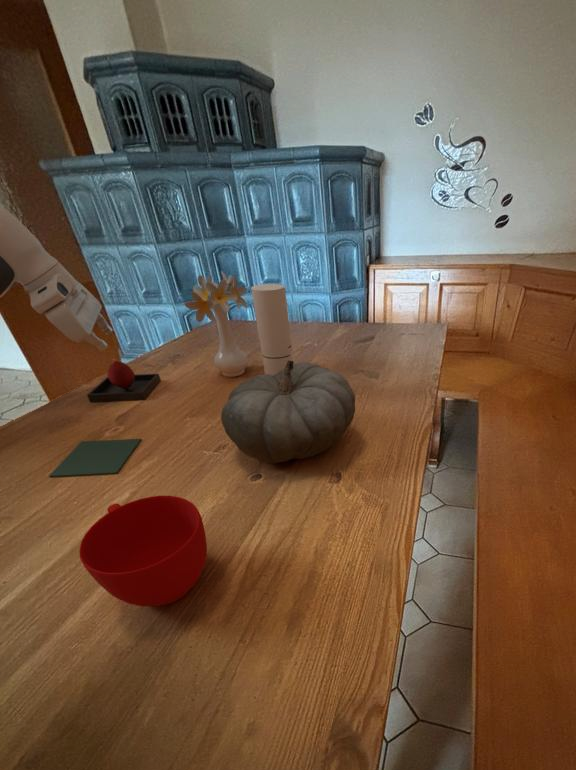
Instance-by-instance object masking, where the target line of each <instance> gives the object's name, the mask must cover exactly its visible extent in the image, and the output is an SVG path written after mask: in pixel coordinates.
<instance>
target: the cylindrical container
mask: <svg viewBox="0 0 576 770" xmlns="http://www.w3.org/2000/svg"><path fill="white" fill-rule="evenodd" d="M250 290H251V291H250V292H251V297H252V302H253V309H254V314H255V321H256V327H257V333H258V334H257V335H258V340H259V343H260V344H259V347H260V351H261V358H262V364H263V370H264V374H269V375H272V376H273V375H276V374H278V373H279V372H280V371H281V370H283V369H285V367H286V364H287V361H289V360H290V361H294V354H293V344H292V335H291V328H290V319H289V311H288V301H287V300H288V299H287V292H286V285H284V284H281V283H261V284H256V285H253V286H251V287H250ZM293 364H295V362H294V363H293Z"/></svg>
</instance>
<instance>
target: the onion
mask: <svg viewBox="0 0 576 770" xmlns="http://www.w3.org/2000/svg"><path fill="white" fill-rule="evenodd" d="M135 375H136V374H135V372H134V370H133V369H132V368H131V367H130V366H129V365H128V364H126V363H124V362H122V361H119V360H117V359H116V358H112V359H111V364H110V365H109V367H108V368H107V377H108V378H109V380H110V382H111V383H113V384H114V385H116V386H118V387H120V388H122V389H125V390H127V389H128V388H129V387H130V386H131V385H132V384H133V382H134V380H135Z"/></svg>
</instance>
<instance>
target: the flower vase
mask: <svg viewBox="0 0 576 770" xmlns="http://www.w3.org/2000/svg"><path fill="white" fill-rule="evenodd" d="M220 274H221V277H222V279H220V281H219V283H216V282H213V275H212V274H210V275H209V276H208V277H207V278H206V277H204V276H203V275H202V274H199V275H198V277H197V281H198V282H197V283H198V285H194V286H193V288H192V291H191V297H192V299H193V300H194V301H192V300H191V301H185V302H184V306H185V307H186V308H187V309H189V310H191V311H192V310H193V311H196V312H195V320H196V321H197V322H198V323H202V322H203V321H204V320H205V317H207V318H208V320H210V321H211V322H213V323H215V322H216V325H217V330H218V335H219V336H218V337H219V347H218V351H217V352H216V353H215V355H214V357H213V365H214V367H215V368H216V369H217V370H218V371H219V372H221V373H222V375H223V376H224V377H226V378H227V377H229V378H233V377H238V376H242V375H243V374H244V373H245V371H246V370H245V369H246V368H247V366H248V364H249V358H248V356H247V354H246V353H245V352H244V351H243V350H242V349H241V348H240V347H238V345H237V344H236V342H235V340H234V338H233V335H232V330H231V326H230V322H229V317H228V313H229V312H230V309H231V308H230V304H229V302H235V304H236V306H237V307H238V309H241V306H243V307H244V308H246V309H248V303H247V302H246V300H245V299H244V298H243V296H245V295H246V287H245V286H239V283H238V278H237V277H236V276H233V274H229V276H228V277H227V275H226V274H225V273H224V272H223V271H222V270H221V271H220ZM212 311H213V312H212Z"/></svg>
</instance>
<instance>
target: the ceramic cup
mask: <svg viewBox="0 0 576 770" xmlns="http://www.w3.org/2000/svg"><path fill="white" fill-rule="evenodd" d="M206 535H207V534H206V530H205V526H204V521H203V519H202V515H201V514H200V510H199V509H198V507H197V506H196V505H195V504H194V503H193V502H192V501H189V500H188V499H186V498H183V497H180V496H177V495H176V496H174V495H154V496H148V497H143V498H139V499H135V500H132V501H130V502H126V503H125V504H122V505H121V504H120V503H112V504H110V505H109V506H108V507H107V513H106V514H105V515H103V516H102V517H100V518H99V519H98V520H97V521H96V522H95V523H94V524H92V525H91V526H90V528H89V529H88V530H87V531H86V532H85V534H84V536H83V537H82V540H81V541H80V545H79V549H78V552H79V559H80V561H81V563H82V565H83V567H84V568H85V571H87V572H88V574H89V575H90V577H92V578H93V580H94V581H95V582H96V583H97V584H98V585H99V586H100V587H102V588H103V589H104V590H105V591H106V592H107V593H108V594H110V595H111V596H112V597H114V598H116V599H118V600H119V601H122V602H124V603H126V604H130V605H134V606H137V607H138V606H139V607H158V606H166V605H170V604H172V603H175V602H176V601H179V600H180V599H182V598H183V597H185V596H186V595H187V594H188V593H189V592H190V591H191V589H193V587H194V586H195V584H196V583H197V582H198V580H199V578H200V577H201V575H202V572H203V571H204V568H205V565H206V560H207V553H208V544H207V536H206Z"/></svg>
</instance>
